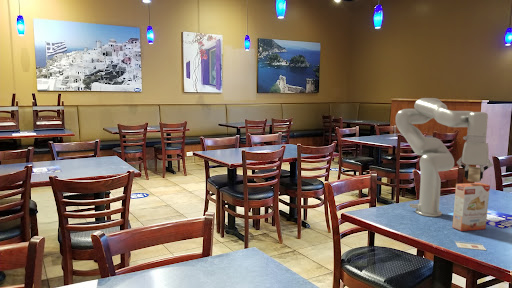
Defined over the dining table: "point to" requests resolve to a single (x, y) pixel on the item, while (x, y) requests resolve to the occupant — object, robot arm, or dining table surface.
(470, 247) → the menu card
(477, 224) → the cracker box
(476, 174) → the maple block
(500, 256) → the dining table surface
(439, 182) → the robot arm
